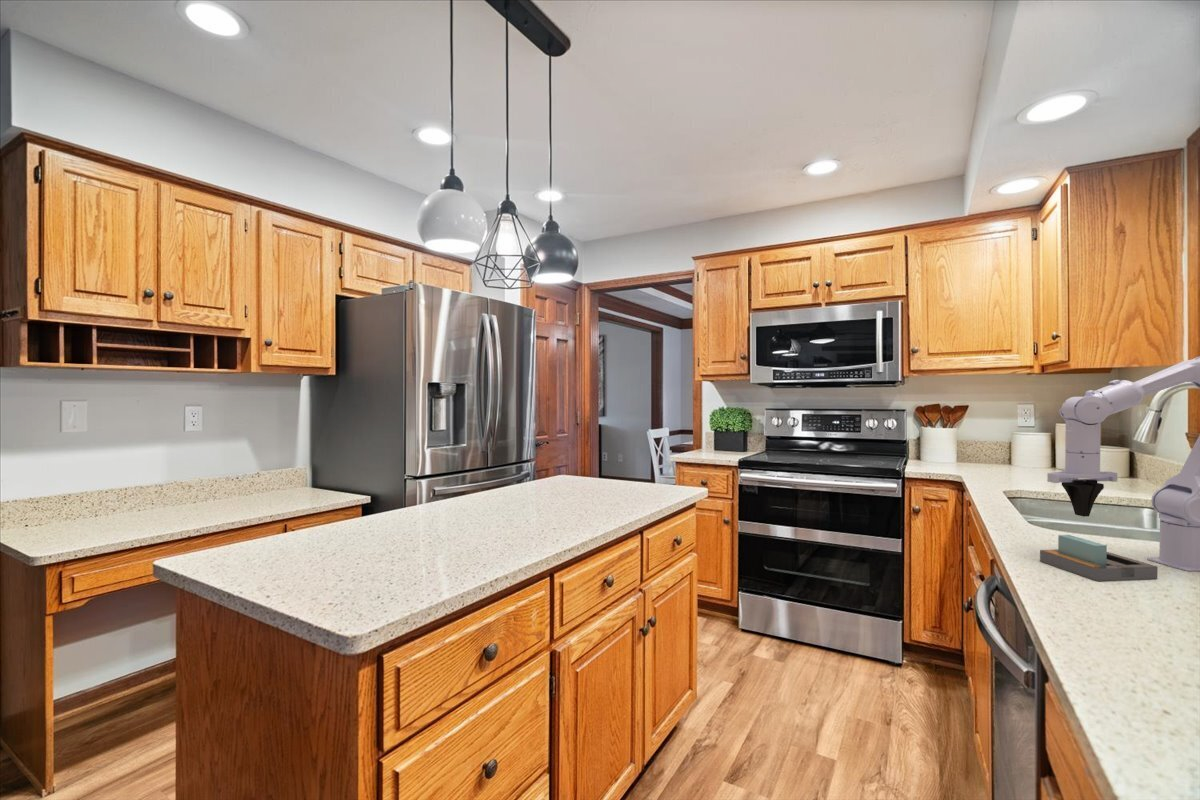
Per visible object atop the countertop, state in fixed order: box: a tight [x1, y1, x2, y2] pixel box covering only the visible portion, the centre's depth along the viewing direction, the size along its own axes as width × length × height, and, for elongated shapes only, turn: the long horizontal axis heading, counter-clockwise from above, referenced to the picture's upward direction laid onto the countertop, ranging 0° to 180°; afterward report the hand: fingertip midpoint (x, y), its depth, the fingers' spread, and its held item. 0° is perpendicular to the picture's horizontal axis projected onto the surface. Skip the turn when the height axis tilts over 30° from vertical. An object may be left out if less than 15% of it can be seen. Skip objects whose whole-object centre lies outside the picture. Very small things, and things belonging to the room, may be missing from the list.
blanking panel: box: [1057, 534, 1108, 566], centre depth 114 cm, size 2×8×6 cm, turn 5°
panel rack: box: [1039, 548, 1159, 582], centre depth 114 cm, size 13×13×3 cm
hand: (1082, 515), depth 121 cm, fingers closed
